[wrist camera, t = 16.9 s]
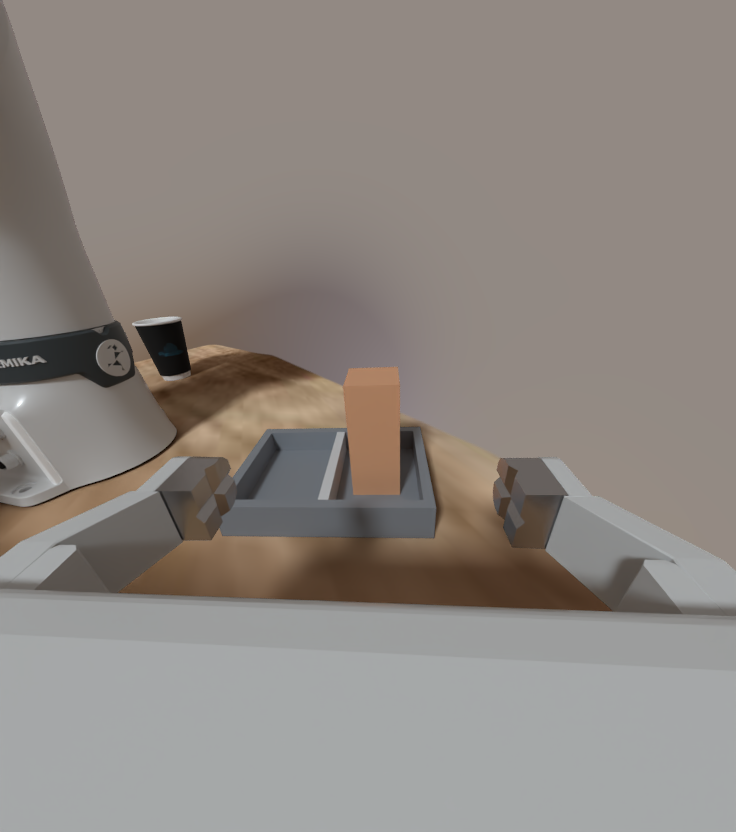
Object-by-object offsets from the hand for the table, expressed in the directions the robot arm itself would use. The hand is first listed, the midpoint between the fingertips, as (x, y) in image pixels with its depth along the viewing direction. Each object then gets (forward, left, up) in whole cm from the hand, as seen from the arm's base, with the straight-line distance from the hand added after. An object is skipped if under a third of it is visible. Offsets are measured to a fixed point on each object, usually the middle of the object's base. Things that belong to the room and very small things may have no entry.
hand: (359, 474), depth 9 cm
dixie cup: (-42, +48, -13) cm, 65 cm away
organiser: (-4, +15, -13) cm, 20 cm away
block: (0, +15, -12) cm, 19 cm away
